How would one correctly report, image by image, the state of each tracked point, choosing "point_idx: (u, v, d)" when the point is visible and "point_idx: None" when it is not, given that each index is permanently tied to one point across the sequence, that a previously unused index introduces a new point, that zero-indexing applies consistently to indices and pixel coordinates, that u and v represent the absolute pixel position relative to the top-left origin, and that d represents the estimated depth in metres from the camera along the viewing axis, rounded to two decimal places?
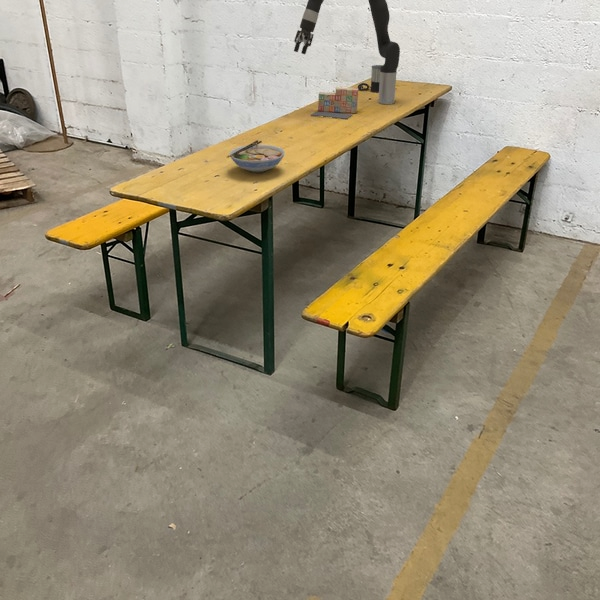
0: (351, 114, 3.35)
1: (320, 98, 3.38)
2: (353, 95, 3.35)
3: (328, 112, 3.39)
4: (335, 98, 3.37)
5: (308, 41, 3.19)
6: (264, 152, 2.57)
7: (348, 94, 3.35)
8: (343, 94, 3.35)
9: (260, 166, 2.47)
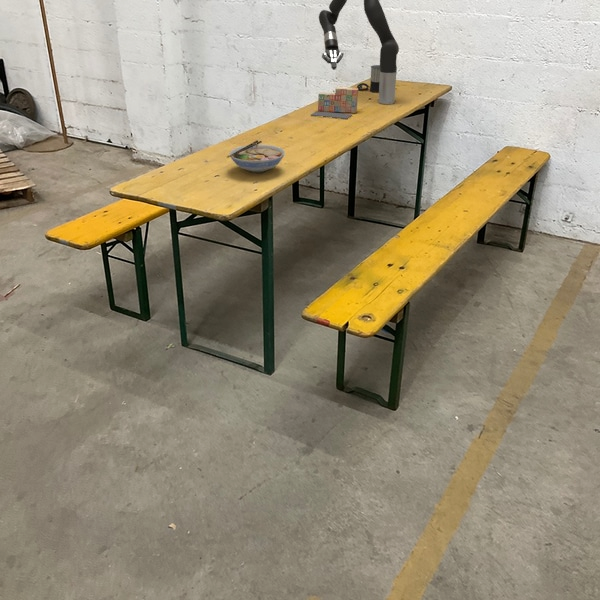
0: (351, 114, 3.35)
1: (320, 98, 3.38)
2: (353, 95, 3.35)
3: (328, 112, 3.39)
4: (335, 98, 3.37)
5: (330, 57, 3.51)
6: (264, 152, 2.57)
7: (348, 94, 3.35)
8: (343, 94, 3.36)
9: (260, 166, 2.47)
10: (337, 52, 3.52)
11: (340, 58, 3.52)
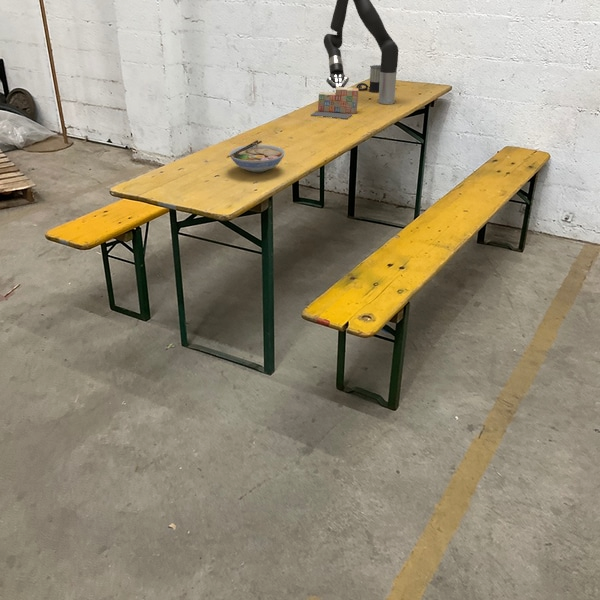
0: (351, 114, 3.35)
1: (320, 98, 3.37)
2: (353, 95, 3.35)
3: (328, 112, 3.39)
4: (335, 99, 3.37)
5: (335, 82, 3.42)
6: (264, 152, 2.57)
7: (348, 94, 3.35)
8: (343, 94, 3.35)
9: (260, 166, 2.47)
10: (342, 76, 3.43)
11: (345, 83, 3.42)
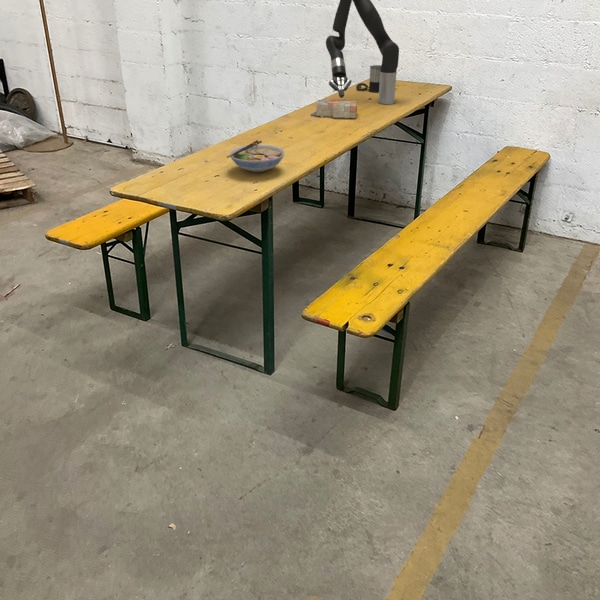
0: None
1: None
2: None
3: None
4: None
5: (337, 85, 3.36)
6: (264, 152, 2.57)
7: None
8: None
9: (260, 166, 2.47)
10: (345, 79, 3.37)
11: (348, 85, 3.36)
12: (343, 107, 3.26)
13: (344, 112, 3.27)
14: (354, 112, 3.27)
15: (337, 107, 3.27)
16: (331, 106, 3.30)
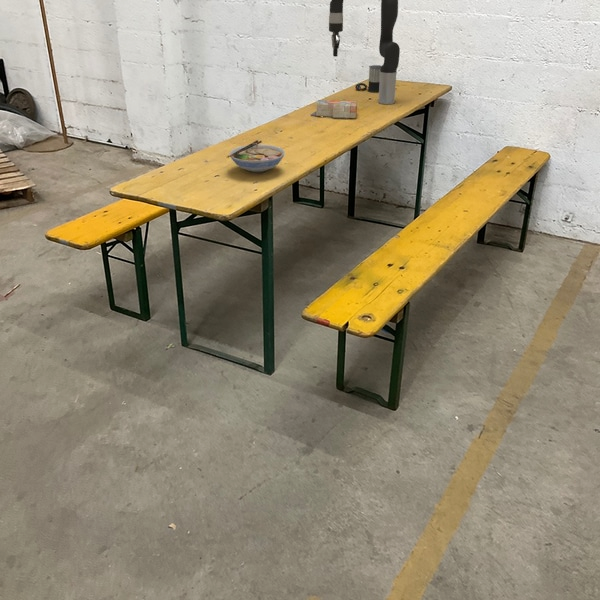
0: None
1: None
2: None
3: None
4: None
5: None
6: (264, 152, 2.57)
7: None
8: None
9: (260, 166, 2.47)
10: None
11: None
12: (343, 107, 3.26)
13: (344, 112, 3.27)
14: (354, 112, 3.27)
15: (337, 107, 3.27)
16: (331, 106, 3.30)
